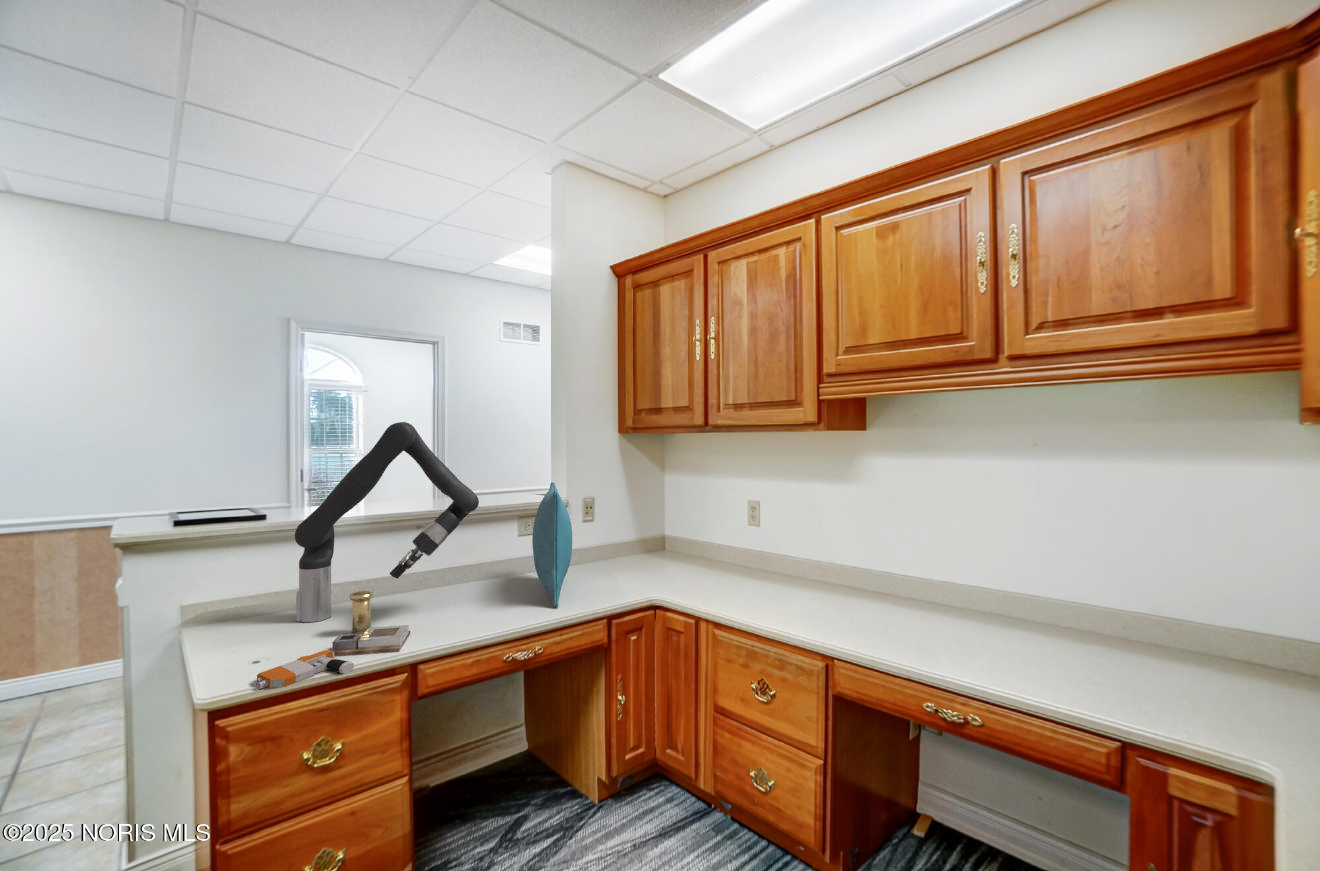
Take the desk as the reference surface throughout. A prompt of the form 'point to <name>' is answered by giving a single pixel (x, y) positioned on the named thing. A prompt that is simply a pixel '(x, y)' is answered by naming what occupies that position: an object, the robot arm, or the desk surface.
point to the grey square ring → (346, 642)
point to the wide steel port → (383, 637)
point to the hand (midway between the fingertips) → (393, 576)
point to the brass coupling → (361, 611)
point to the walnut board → (370, 650)
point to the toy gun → (302, 669)
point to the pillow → (552, 542)
